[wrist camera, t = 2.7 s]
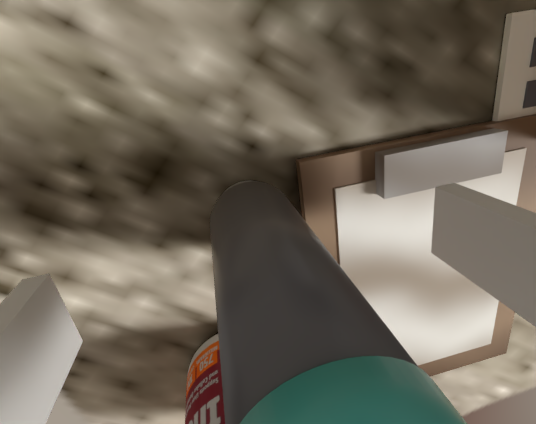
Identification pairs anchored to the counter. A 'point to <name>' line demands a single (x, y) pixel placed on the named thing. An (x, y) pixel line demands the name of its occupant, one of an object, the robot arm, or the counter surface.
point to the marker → (303, 327)
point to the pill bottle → (205, 386)
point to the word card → (517, 68)
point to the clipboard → (419, 231)
